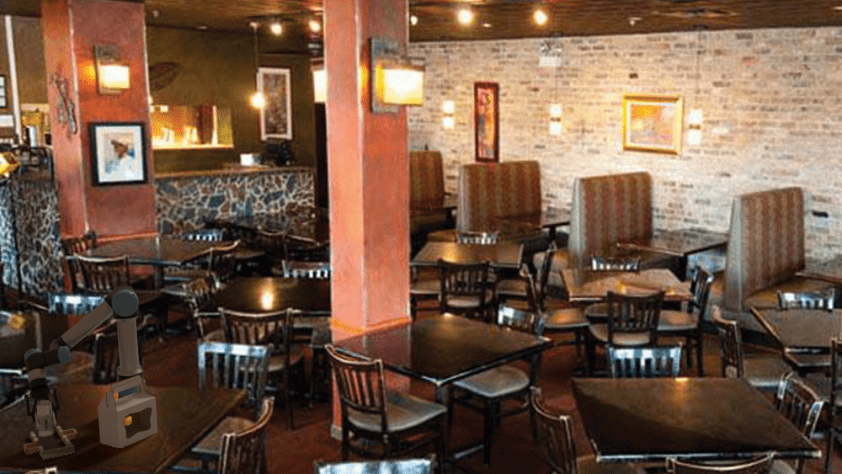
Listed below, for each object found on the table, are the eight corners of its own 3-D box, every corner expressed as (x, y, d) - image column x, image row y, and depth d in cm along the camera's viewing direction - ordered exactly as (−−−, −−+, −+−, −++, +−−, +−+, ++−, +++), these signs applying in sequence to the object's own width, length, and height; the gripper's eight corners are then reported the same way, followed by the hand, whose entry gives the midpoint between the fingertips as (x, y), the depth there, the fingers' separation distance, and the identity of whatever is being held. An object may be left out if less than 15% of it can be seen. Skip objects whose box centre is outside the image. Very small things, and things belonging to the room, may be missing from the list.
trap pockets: (20, 444, 377) (20, 439, 377) (74, 433, 390) (74, 428, 390) (26, 455, 366) (25, 449, 365) (81, 443, 378) (81, 437, 378)
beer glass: (47, 438, 372) (45, 406, 369) (34, 436, 373) (31, 404, 371) (57, 432, 379) (55, 400, 376) (44, 430, 380) (42, 399, 377)
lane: (30, 437, 386) (29, 429, 385) (60, 430, 393) (59, 423, 392) (42, 460, 360) (42, 452, 360) (74, 453, 368) (74, 445, 367)
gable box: (119, 449, 371) (115, 389, 367) (99, 443, 378) (95, 384, 374) (158, 432, 390) (154, 375, 386) (138, 427, 397) (135, 370, 393)
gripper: (59, 380, 390) (69, 425, 380) (14, 388, 380) (22, 435, 370) (61, 373, 385) (70, 418, 375) (14, 381, 375) (23, 428, 364)
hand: (46, 426), depth 372 cm, fingers closed on beer glass, 6 cm apart
